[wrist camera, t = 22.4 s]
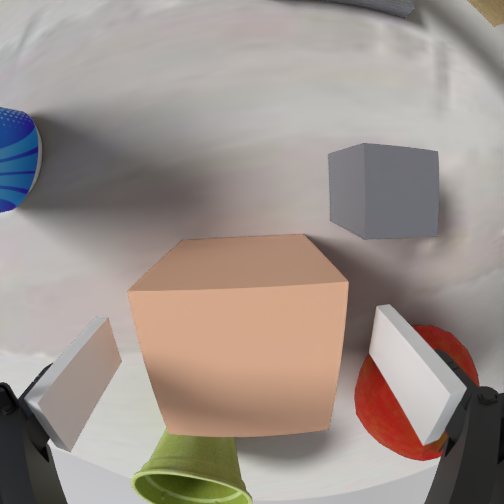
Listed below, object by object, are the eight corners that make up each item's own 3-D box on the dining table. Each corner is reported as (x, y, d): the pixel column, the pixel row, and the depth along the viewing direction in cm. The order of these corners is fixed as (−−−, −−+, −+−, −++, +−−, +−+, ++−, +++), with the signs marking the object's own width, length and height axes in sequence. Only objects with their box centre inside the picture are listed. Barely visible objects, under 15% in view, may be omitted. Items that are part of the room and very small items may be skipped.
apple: (437, 380, 22) (486, 444, 12) (348, 417, 23) (378, 501, 13) (444, 296, 20) (524, 357, 10) (337, 338, 20) (387, 440, 10)
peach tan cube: (181, 240, 18) (127, 290, 10) (303, 234, 18) (348, 281, 10) (195, 344, 20) (168, 433, 12) (302, 340, 20) (328, 429, 12)
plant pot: (174, 377, 21) (147, 457, 13) (270, 417, 22) (276, 495, 14) (143, 429, 23) (120, 492, 15) (224, 460, 24) (219, 524, 16)
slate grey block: (328, 154, 17) (363, 143, 11) (387, 156, 17) (438, 151, 11) (330, 220, 18) (364, 239, 12) (388, 219, 18) (437, 236, 12)
